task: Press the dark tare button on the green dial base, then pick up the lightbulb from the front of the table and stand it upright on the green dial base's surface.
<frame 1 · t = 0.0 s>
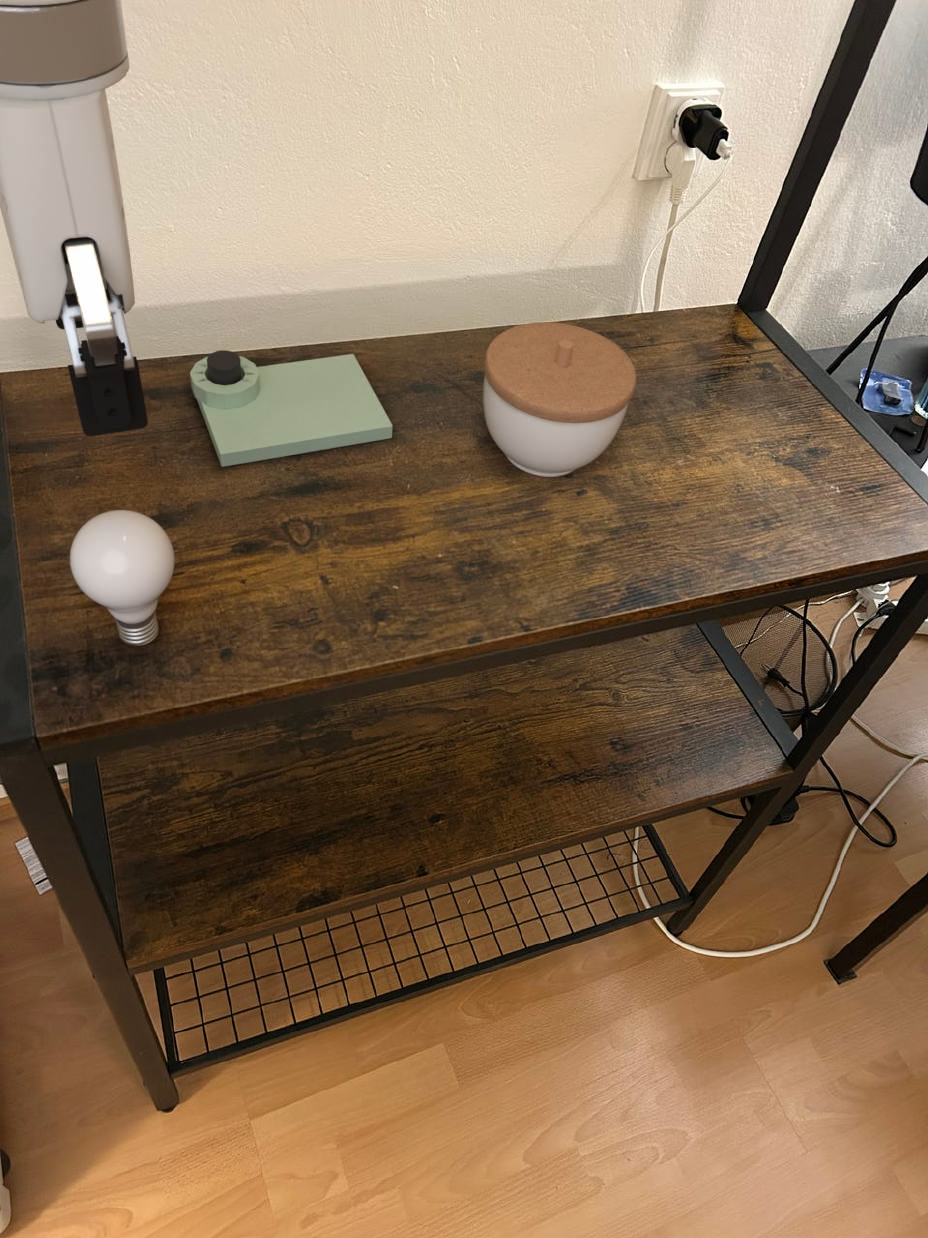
hand: (100, 373, 53), 21 cm above the table, tool pointing down, fingers open, 9 cm apart
lidded bowl: (542, 452, 87), on the table
green dial base: (291, 413, 86), on the table
lightbulb: (140, 638, 68), on the table
tare button: (224, 368, 83), point 4 cm above the table, slide at 0.1 cm
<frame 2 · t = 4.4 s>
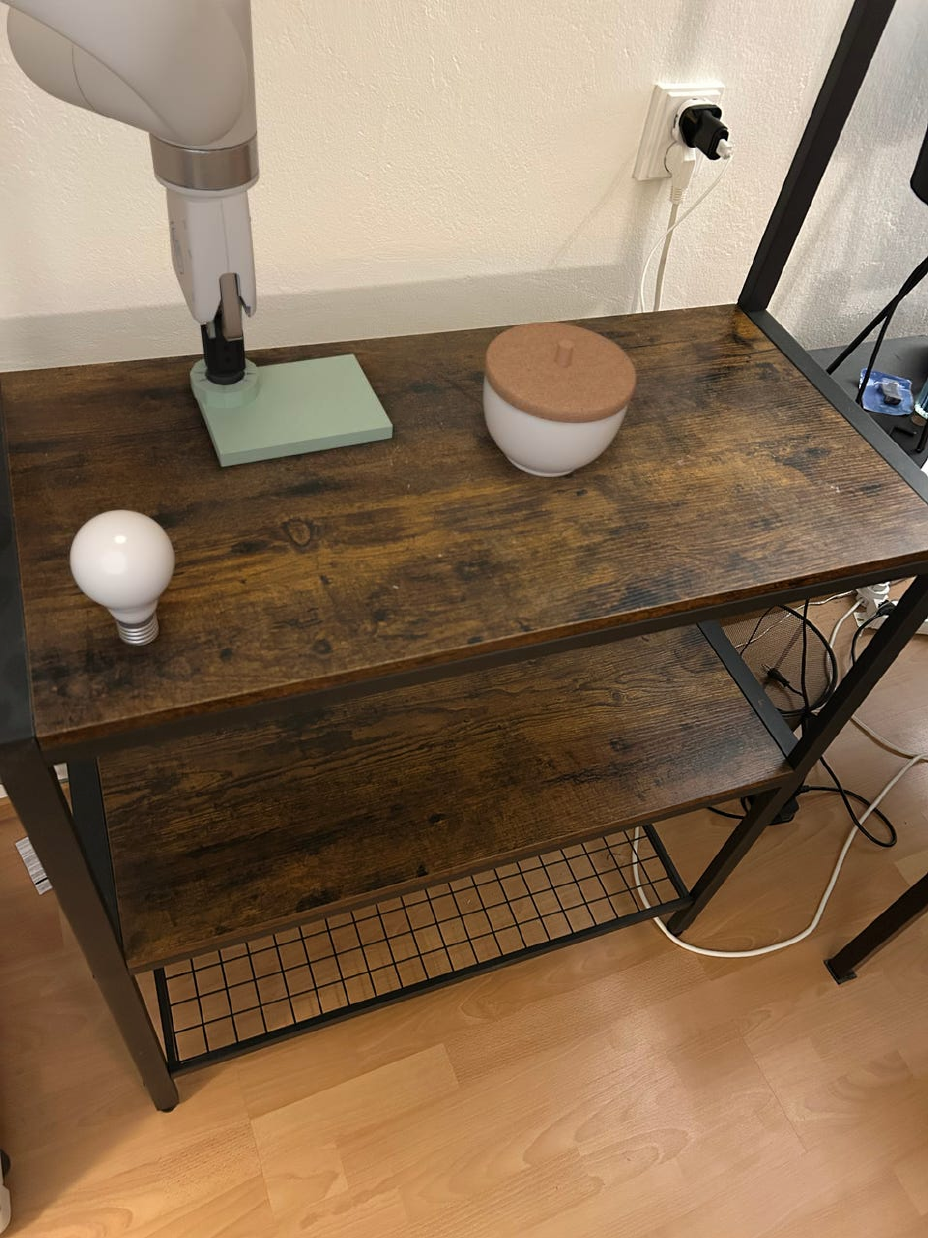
hand: (225, 367, 84), 4 cm above the table, tool pointing down, fingers closed
tare button: (225, 376, 84), point 3 cm above the table, slide at -0.8 cm, touching gripper
everything else where it was.
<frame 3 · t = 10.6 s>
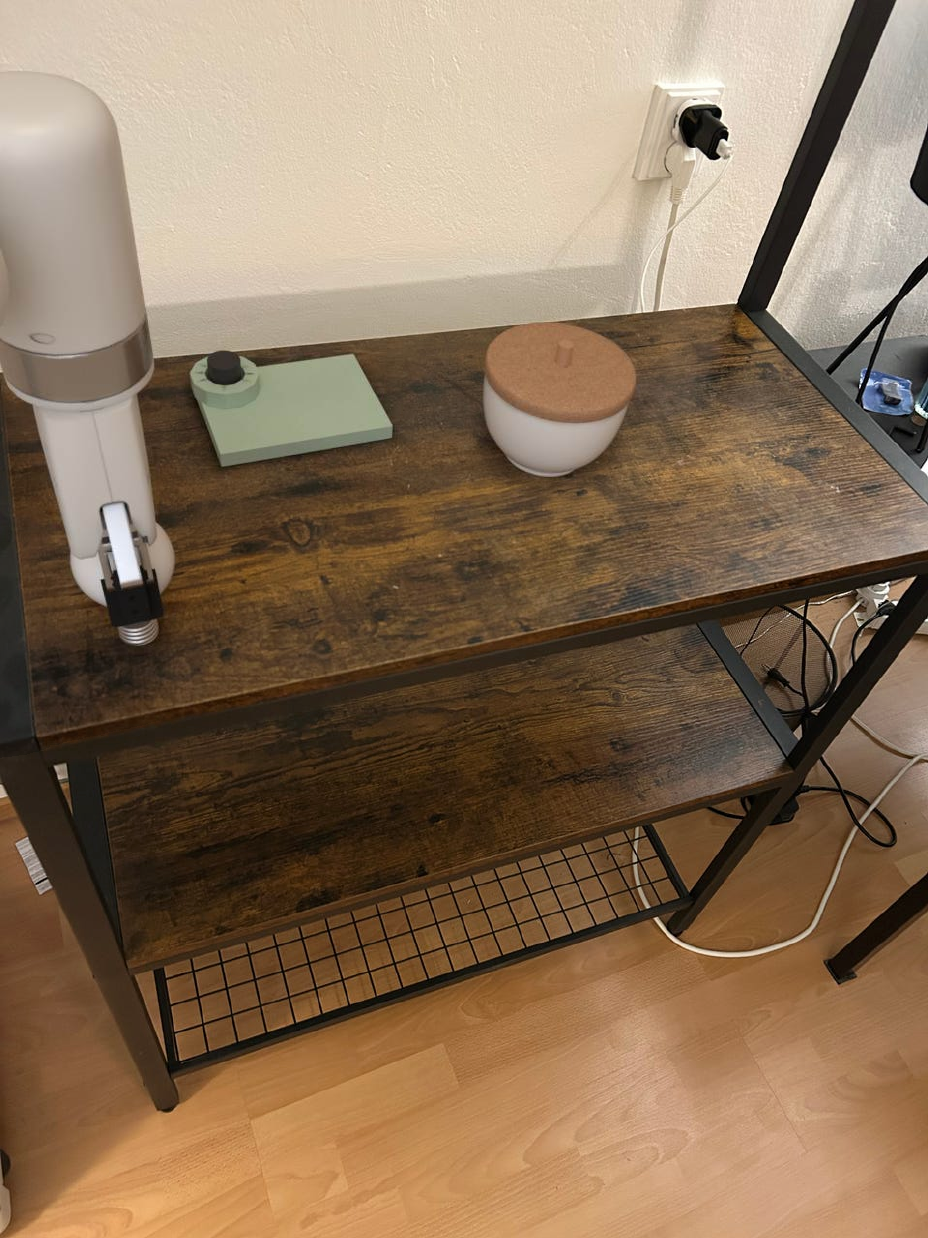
hand: (127, 578, 64), 6 cm above the table, tool pointing down, fingers closed on lightbulb, 6 cm apart
lightbulb: (140, 639, 68), on the table, touching gripper
tare button: (224, 368, 84), point 4 cm above the table, slide at 0.1 cm
everything else where it was.
when the fingers open (7 cm above the table, at t = 18.5 s): lightbulb stays where it is, resting on green dial base.
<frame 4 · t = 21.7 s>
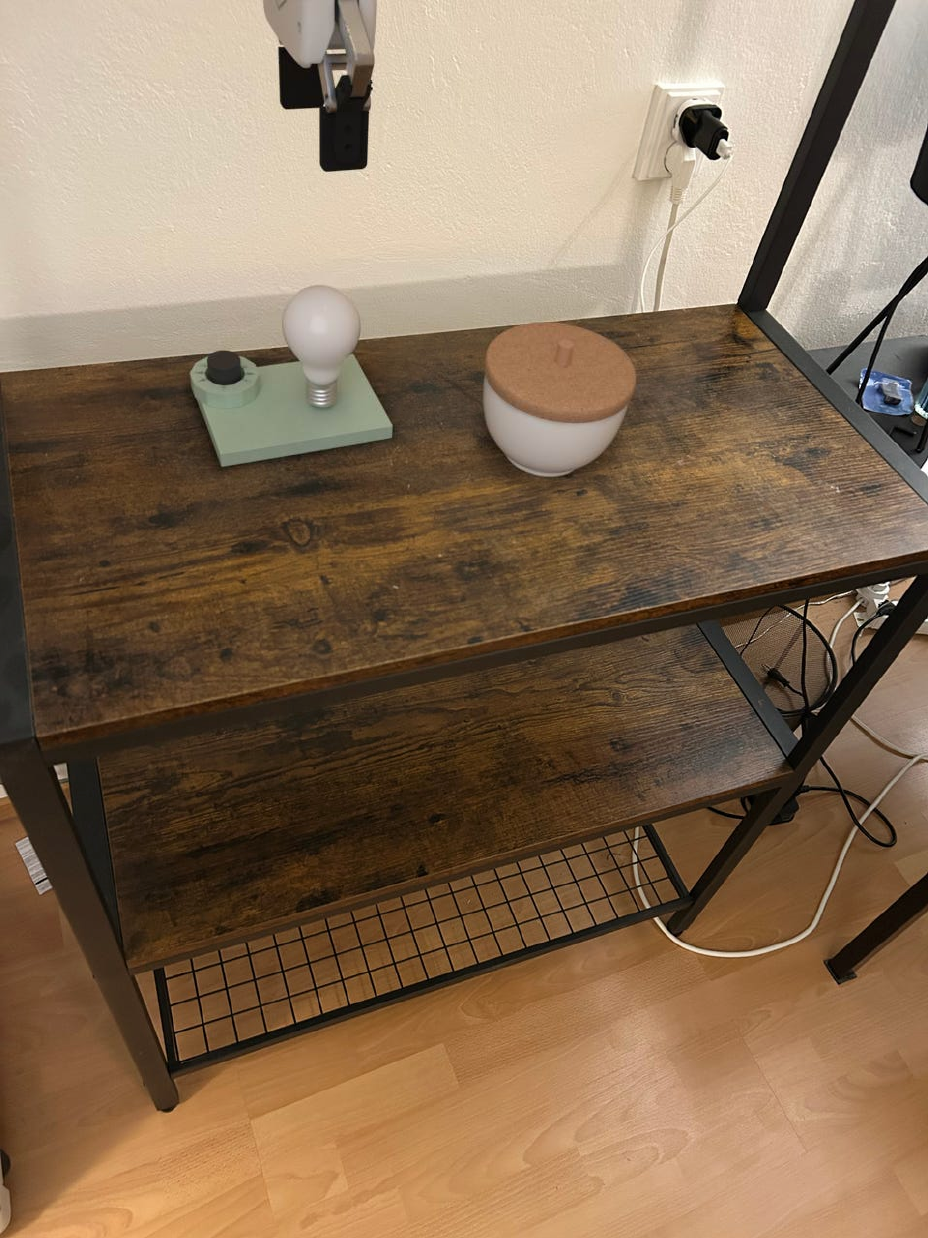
hand: (322, 136, 68), 24 cm above the table, tool pointing down, fingers open, 9 cm apart
lightbulb: (321, 405, 85), point 1 cm above the table, touching green dial base
everything else where it was.
at the end: tare button pushed in 0.9 cm at the most during the clip, back to where it started at the end; lightbulb inside the target area on the green dial base (1.2 cm from its centre), point 1.2 cm above the green dial base's base; lightbulb tilted 0° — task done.
